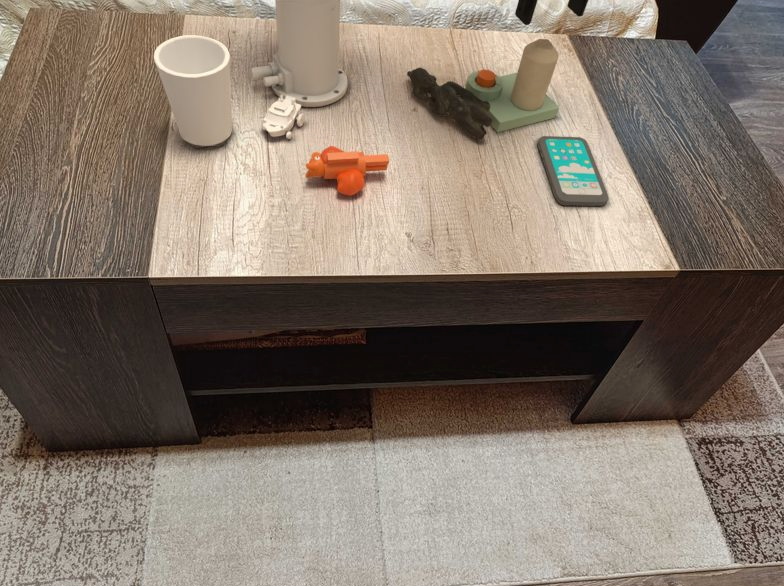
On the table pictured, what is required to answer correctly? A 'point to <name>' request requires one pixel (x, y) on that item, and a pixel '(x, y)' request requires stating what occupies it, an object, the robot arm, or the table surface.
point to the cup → (197, 87)
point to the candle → (534, 75)
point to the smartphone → (572, 171)
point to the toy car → (282, 117)
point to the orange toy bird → (345, 167)
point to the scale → (508, 103)
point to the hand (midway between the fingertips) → (548, 15)
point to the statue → (452, 102)
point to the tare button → (486, 78)
